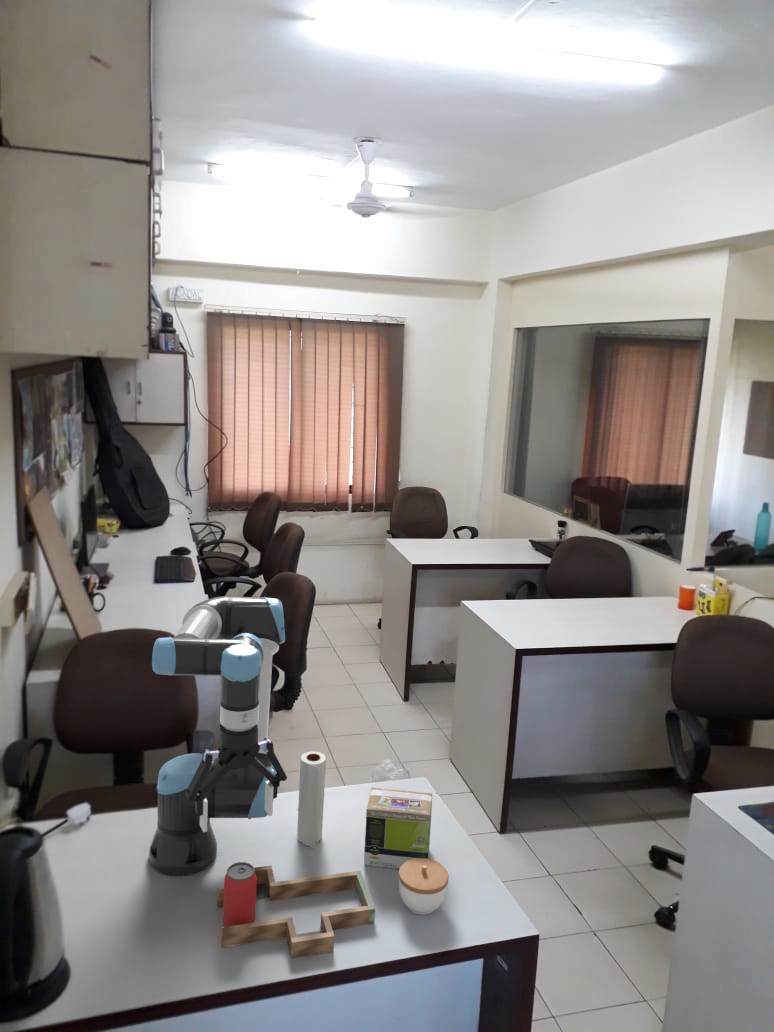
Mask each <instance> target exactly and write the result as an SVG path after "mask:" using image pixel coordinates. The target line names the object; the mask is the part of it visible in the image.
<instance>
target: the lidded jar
mask: <svg viewBox="0 0 774 1032" xmlns="http://www.w3.org/2000/svg"><path fill="white" fill-rule="evenodd" d="M449 879H450V878H449V873H448V870H447V869H446V867H445V866H444V865H443V864H441V863H440V862H438V861H437V860H435V859H431V858H428V859H427V858H414V859H411V860H408V861H406V862H405V863H403V864H402V865H401V867H400V869H399V870H398V890H399V894H400V898H401V900H402V901H403V904H404V905H405V906H406V908H408V909H409V911H411V912H412V913H413V914H416V915H418V916H419V915H422V916H424V915H430V914H432V913H433V912H434V911H436V910H437V909H438V908H439V907H441V905H442V903H443V902H444V900H445V898H446V895H447V890H448V885H449V884H448V883H449Z"/></svg>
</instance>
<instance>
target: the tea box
mask: <svg viewBox="0 0 774 1032" xmlns="http://www.w3.org/2000/svg"><path fill="white" fill-rule="evenodd" d="M432 805H433V793H430V792H422V791H413V790H411V791H410V790H409V791H408V790H402V789H393V788H392V789H391V788H382V787H381V788H378V787H371V788H370V795H369V798H368V803H367V807H366V811H365V812H366V815H365V833H364V834H365V835H364V855H363V856H364V857H363V865H364V866H373V867H382V868H388V869H389V868H391V869H400V867H401V865H402V864H403V863H405V862H406V861H408V860H411V859H414V858H427V859H429V855H430V854H429V853H430V843H431V827H432V811H433V809H432V808H433V806H432Z"/></svg>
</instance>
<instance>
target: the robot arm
mask: <svg viewBox="0 0 774 1032" xmlns="http://www.w3.org/2000/svg"><path fill="white" fill-rule="evenodd" d="M284 617H285V616H284V607H283V603H282V601H281V600H280V599H279V598H274V597H266V596H263V597H258V596H257V597H255V596H253V597H250V596H229V595H223V596H215V597H212V598H208V599H205V600H203V601H200V602H199V603H197V604H195V605H193V606H192V607H190V609H189V610H188V611H187V612H186V613H185V614H184V616H183V619H182V622H181V624H182V626H181V627H180V628H179V630H177V632H176V634H175V635H174V637H171V636H168V637H158V638H157V639H155V641H154V644H153V647H152V656H151V657H152V658H151V666H152V671H153V672H154V673H155V674H157V675H165V676H167V675H168V676H170V677H171V676H209V677H210V676H211V677H212V676H215V677H220V706H219V707H220V709H219V710H220V711H219V712H220V713H219V714H220V715H219V723H220V725H219V746H218V749H217V750H209V749H208V748H205V749H204V750H203V751H202V753H196V752H195V753H193V752H192V753H191V752H190V753H186V754H182V755H178V756H176V757H173V758H172V759H170V760H168V761H167V762H165V763H164V764H163V766H161V768H160V769H159V771H158V772H159V773H158V775H157V776H158V779H157V784H156V791H157V824H156V825H157V826H156V830H155V832H154V835H153V837H152V841H151V843H150V846H149V849H148V852H149V853H148V855H149V856H148V860H149V864H150V866H151V867H152V868H153V869H154V870H155V871H157V872H159V873H160V874H164V875H166V876H173V877H174V876H175V877H177V876H178V877H181V876H190V875H193V874H196V873H199V872H201V871H203V870H205V869H206V868H208V867H210V865H212V863H213V862H214V861H215V859H216V857H217V853H218V851H217V850H218V842H217V839H216V836H215V833H214V830H213V827H212V824H211V819H248V820H251V819H257V818H259V819H260V818H261V819H262V818H266V817H273V808H274V806H273V805H274V799H277V797H278V788H279V787H280V786H281V783H280V782H282V781H283V782H285V781H286V780H287V779H288V776H287V774H286V772H285V771H284V768H283V767H282V765H281V763H280V761H279V759H278V758H277V756H276V754H275V750H274V744H273V741H271V739H270V738H269V736H268V735H269V724H270V723H269V722H270V705H271V688H272V670H273V656H274V655H275V654H276V653H278V652H279V650H280V645H282V644H284V643H285V642H286V633H285V630H286V629H285V618H284ZM217 758H218V759H219V760H218V761H217V762H216V763H215V760H216V759H217Z"/></svg>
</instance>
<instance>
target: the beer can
mask: <svg viewBox="0 0 774 1032" xmlns="http://www.w3.org/2000/svg"><path fill="white" fill-rule="evenodd" d="M254 868H255V867H254V866H253V864H251V863H249V862H246V861H238V862H235V863H232V864H231V865H230V866H229V867H227V870H226V873H225V875H224V879H223V889H224V898H223V909H222V923H223V927H228V926H235V925H242V924H248V923H255V922H256V908H257V907H256V905H257V900H256V885H257V877H256V874H255V872H254V870H255V869H254Z"/></svg>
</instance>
